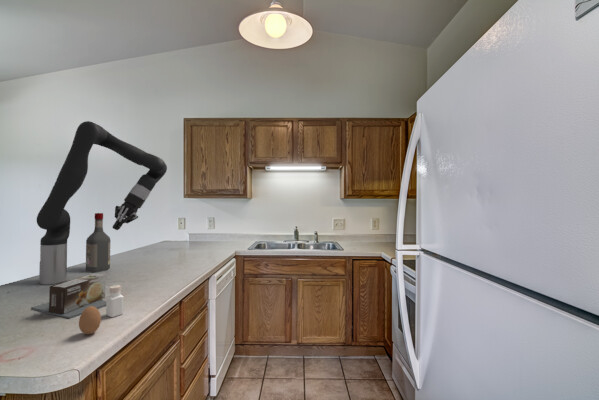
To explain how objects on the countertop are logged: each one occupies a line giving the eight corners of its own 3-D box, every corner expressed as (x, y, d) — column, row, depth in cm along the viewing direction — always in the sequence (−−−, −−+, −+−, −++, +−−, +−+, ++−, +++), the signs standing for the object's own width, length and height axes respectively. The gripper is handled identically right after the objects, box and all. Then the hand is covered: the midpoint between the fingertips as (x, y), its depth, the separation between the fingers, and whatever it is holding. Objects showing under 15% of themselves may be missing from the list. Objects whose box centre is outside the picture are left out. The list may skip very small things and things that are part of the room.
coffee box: (92, 273, 111) (48, 284, 95) (106, 274, 110) (64, 286, 94) (91, 296, 111) (48, 312, 95) (105, 298, 110) (63, 314, 94)
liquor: (92, 273, 145) (93, 214, 145) (83, 270, 150) (84, 213, 150) (111, 269, 153) (112, 213, 153) (103, 267, 158) (104, 212, 158)
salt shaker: (111, 318, 94) (111, 289, 94) (105, 315, 96) (105, 286, 96) (124, 314, 97) (124, 286, 97) (118, 311, 99) (118, 284, 99)
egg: (104, 329, 86) (105, 303, 86) (92, 338, 81) (93, 310, 80) (87, 329, 86) (87, 303, 85) (74, 338, 80) (74, 309, 80)
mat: (31, 309, 99) (31, 307, 99) (75, 296, 113) (75, 294, 113) (69, 318, 92) (69, 317, 92) (111, 304, 106) (111, 302, 106)
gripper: (122, 187, 131) (98, 221, 127) (142, 197, 127) (118, 232, 122) (133, 194, 138) (111, 226, 133) (153, 203, 134) (131, 237, 129)
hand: (114, 229), depth 128 cm, fingers closed
